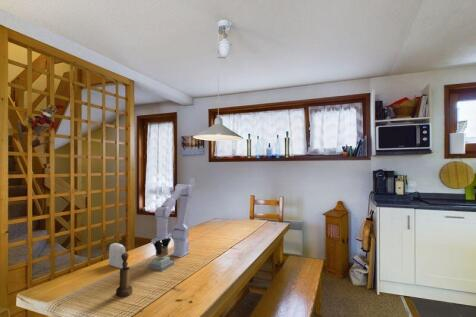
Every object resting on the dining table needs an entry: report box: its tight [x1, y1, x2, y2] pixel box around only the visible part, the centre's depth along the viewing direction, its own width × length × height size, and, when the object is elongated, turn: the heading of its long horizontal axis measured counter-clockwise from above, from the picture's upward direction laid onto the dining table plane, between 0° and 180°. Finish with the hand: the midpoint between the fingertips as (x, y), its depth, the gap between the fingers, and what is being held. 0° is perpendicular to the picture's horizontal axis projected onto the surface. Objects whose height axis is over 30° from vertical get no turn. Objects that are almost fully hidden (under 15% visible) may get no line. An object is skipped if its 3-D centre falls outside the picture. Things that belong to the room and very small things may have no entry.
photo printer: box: [108, 242, 126, 269], centre depth 145 cm, size 10×4×12 cm, turn 60°
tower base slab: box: [147, 259, 175, 272], centre depth 146 cm, size 10×10×2 cm
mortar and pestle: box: [115, 252, 133, 298], centre depth 115 cm, size 7×6×18 cm
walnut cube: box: [155, 246, 169, 257], centre depth 146 cm, size 4×4×4 cm
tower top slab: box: [151, 255, 171, 266], centre depth 146 cm, size 7×7×2 cm
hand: (161, 252), depth 146 cm, fingers closed on walnut cube, 4 cm apart
